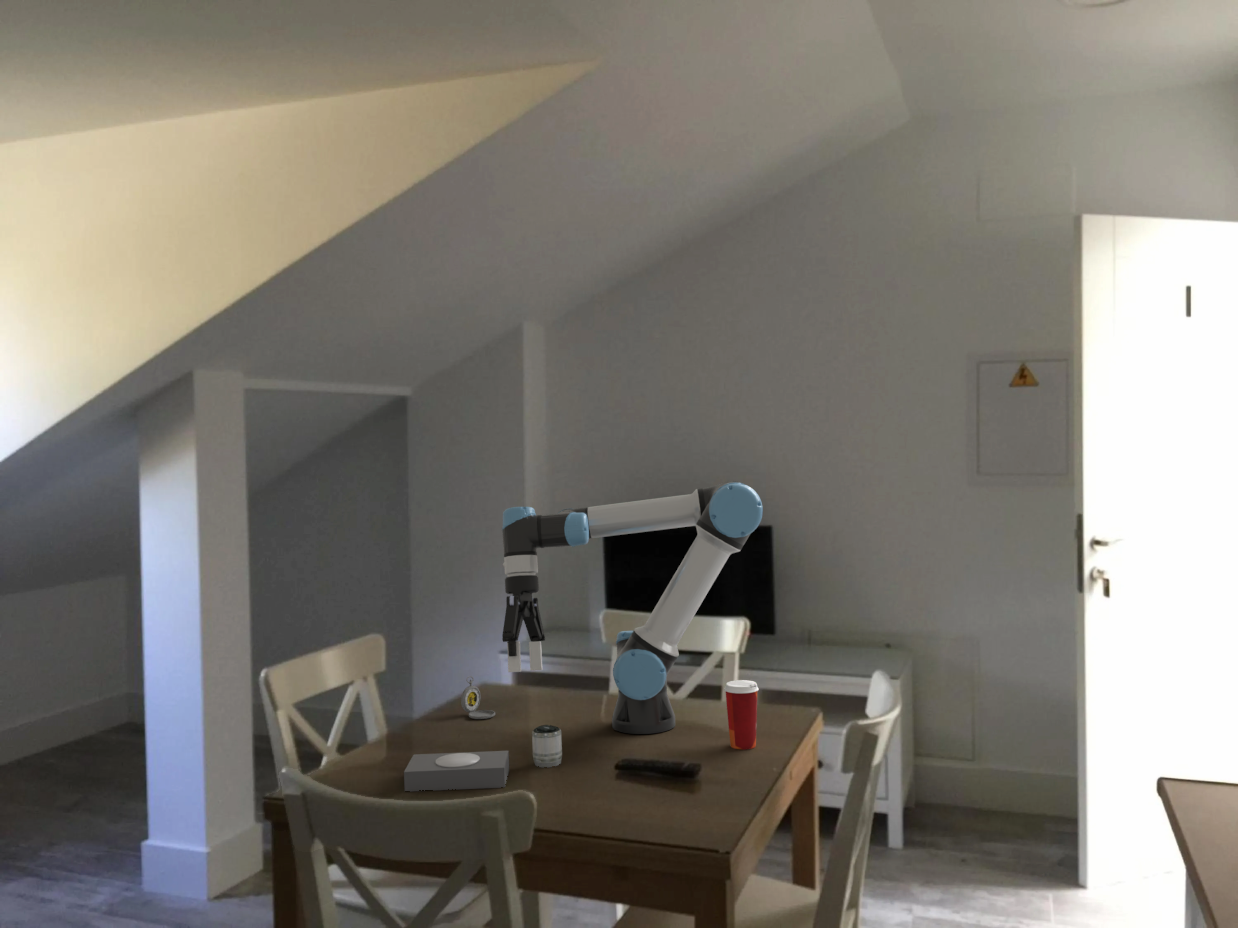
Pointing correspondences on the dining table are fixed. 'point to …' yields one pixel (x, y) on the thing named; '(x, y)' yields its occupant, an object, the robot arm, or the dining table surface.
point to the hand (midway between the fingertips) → (525, 671)
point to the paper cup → (742, 713)
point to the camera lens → (547, 746)
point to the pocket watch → (474, 702)
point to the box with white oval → (457, 771)
